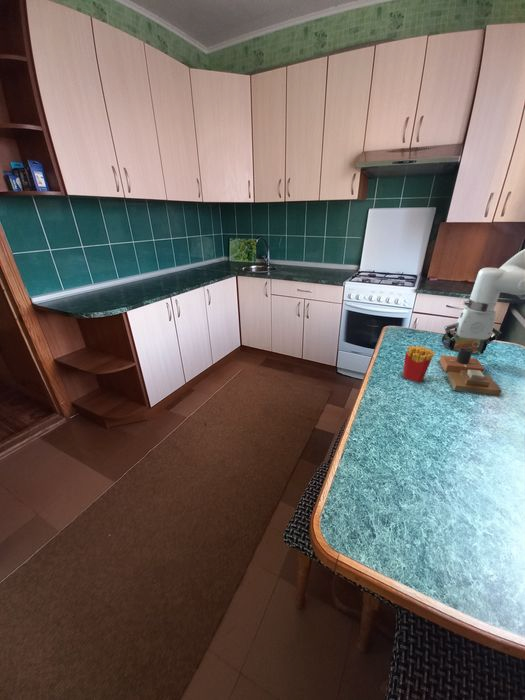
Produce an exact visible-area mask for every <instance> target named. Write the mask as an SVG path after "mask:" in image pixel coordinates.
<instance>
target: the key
mask: <svg viewBox="0 0 525 700" xmlns="http://www.w3.org/2000/svg"><path fill="white" fill-rule="evenodd" d="M483 374H484V373H483ZM483 374H482V372H481V371H478V370H468V372H467V375H468V376H469V377H470V379H478V380H483V379H484V375H485V374H484V375H483Z"/></svg>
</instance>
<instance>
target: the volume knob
mask: <svg viewBox="0 0 525 700" xmlns="http://www.w3.org/2000/svg"><path fill="white" fill-rule="evenodd" d="M472 352H473V350H472V349H471V348H468V347H460V350H459V351H458V353H457V355H456V357H457V359H456V361H457V362H459V363H461V364H468V363H469V361H470V358H472V355H473V353H472Z"/></svg>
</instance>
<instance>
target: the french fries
mask: <svg viewBox="0 0 525 700" xmlns="http://www.w3.org/2000/svg"><path fill="white" fill-rule="evenodd" d="M434 356H435V351H434V350H432V349H430V348H428V347H426V346H423V345H421V346H418V345H411V346H410V345H408V346H407V351H406V352H405V356H404V365H403V374H402V377H403V378H405V379H406V380H410V381H412V382H413V381H414V382H417V383H420V382H423V380H424V378H425V375H426V373H427V371H428V368H429V365H430V364H431V361H432V359H433V358H434Z"/></svg>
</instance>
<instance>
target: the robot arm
mask: <svg viewBox="0 0 525 700" xmlns="http://www.w3.org/2000/svg"><path fill="white" fill-rule="evenodd" d="M502 293H504V294H508V295H513V296H514V295H515V296H524V295H525V248H524V249H523V250H520V251H519V252H517V253H516V254H515V255H513V256H512V257H510V258H509V259H508V260H507V261H505V262H504V263H503V264H502V265H501V266H500V267H499V268H498V267H483V268H481V269H479V270H478V273H477V275H476V278H475V282H474V284H473V287H472V291H471V293H470V296H469V298H468V300H464V301H463V303H462V304H463V306H464V308H463V309H462V310H461V312H460V315H459V316H458V318H457V321H456V322H455V323H452V324H449V325H445V326H444V332H445V333H446V334H447V335H448V337H449V338H450V339H449V342H448V345H447V346H448V348H449V349H448V348H447V349H448V350H449V351H454V350H453V348H454V345H455V342H456V341H455V339H457V338H458V337H462V338H472V339H483V340H481V341H480V344H479V347H478V351H479V352H478V353H479V354H481V355H483V354H484V352H485V351H486V349H487V347H488V345H490V344H491V342H493V341H495V340H497V338H498V337H499V336H501V334H502V332H501V331H500V330H499V329H497V328H494V327H495V321H496V317H497V316H496V315H497V311H495V308H496V305H497V303H498V300H499V297H500V295H501V294H502ZM450 330H454V331H455V332H453V333H452V334H451V333H450Z"/></svg>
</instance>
